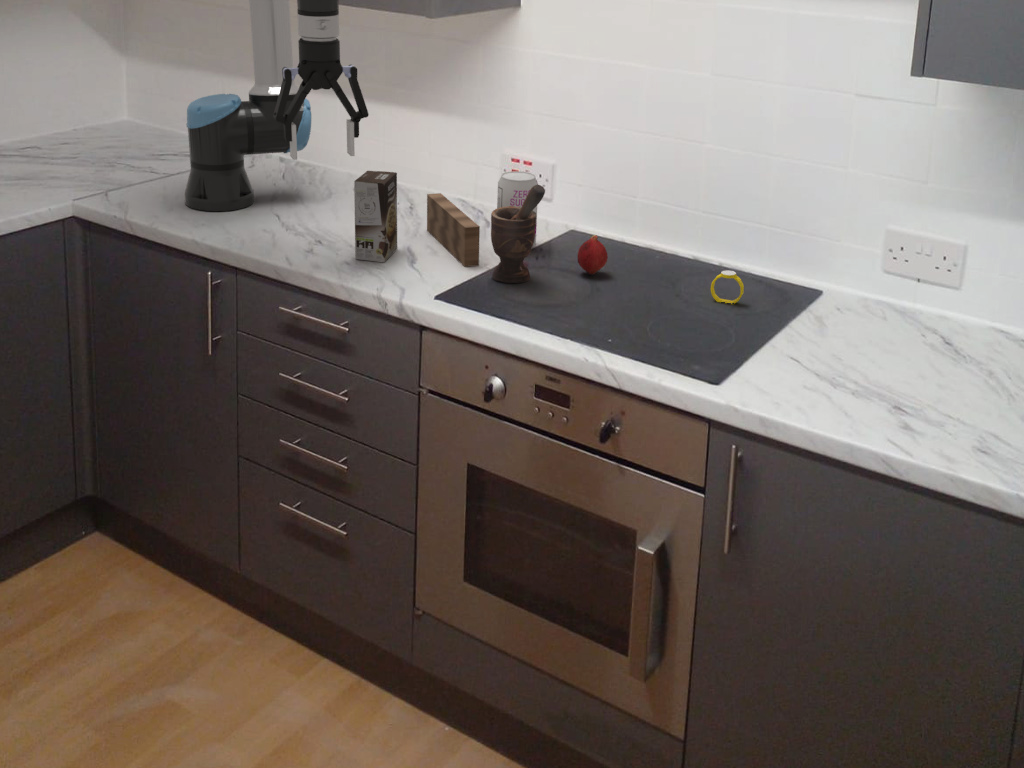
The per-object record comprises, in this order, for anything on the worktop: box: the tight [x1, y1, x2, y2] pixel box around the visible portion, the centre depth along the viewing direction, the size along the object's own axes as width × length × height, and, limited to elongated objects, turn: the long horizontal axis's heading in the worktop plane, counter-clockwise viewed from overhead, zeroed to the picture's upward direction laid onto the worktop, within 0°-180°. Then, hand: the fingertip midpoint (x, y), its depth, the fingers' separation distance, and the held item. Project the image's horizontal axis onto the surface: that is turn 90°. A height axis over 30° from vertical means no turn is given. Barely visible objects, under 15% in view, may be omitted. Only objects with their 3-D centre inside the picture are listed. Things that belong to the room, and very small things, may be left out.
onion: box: [577, 234, 608, 275], centre depth 239 cm, size 6×6×8 cm
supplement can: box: [496, 170, 539, 249], centre depth 251 cm, size 8×8×15 cm
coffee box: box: [353, 170, 398, 263], centre depth 243 cm, size 9×6×16 cm
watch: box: [710, 270, 745, 305], centre depth 228 cm, size 6×3×6 cm, turn 69°
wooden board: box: [426, 192, 481, 267], centre depth 250 cm, size 24×3×8 cm, turn 22°
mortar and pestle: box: [490, 184, 546, 284], centre depth 232 cm, size 12×9×20 cm
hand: (322, 156), depth 234 cm, fingers open, 10 cm apart
